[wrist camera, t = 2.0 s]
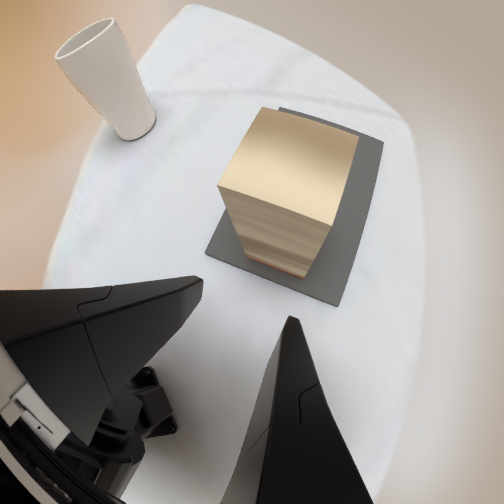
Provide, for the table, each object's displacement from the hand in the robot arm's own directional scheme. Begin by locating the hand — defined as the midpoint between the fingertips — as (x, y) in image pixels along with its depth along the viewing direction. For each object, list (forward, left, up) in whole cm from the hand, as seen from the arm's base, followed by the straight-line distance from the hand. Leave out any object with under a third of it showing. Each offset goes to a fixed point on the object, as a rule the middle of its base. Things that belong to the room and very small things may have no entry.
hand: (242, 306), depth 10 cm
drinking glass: (-6, +26, -13) cm, 30 cm away
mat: (+8, +9, -12) cm, 17 cm away
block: (+4, +5, -12) cm, 14 cm away
